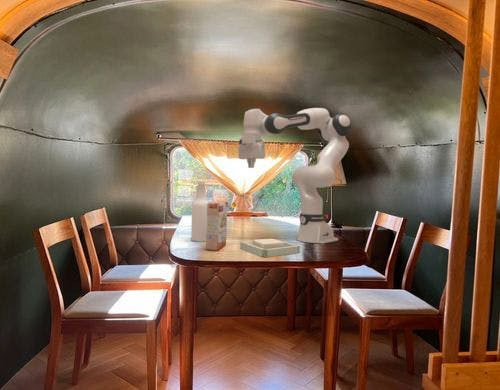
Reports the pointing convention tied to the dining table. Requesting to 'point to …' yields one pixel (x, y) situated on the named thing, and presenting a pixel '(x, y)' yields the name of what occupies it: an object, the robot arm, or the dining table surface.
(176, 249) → the dining table surface
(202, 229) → the alcohol
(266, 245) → the carton
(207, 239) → the cracker box
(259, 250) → the u-shaped frame
